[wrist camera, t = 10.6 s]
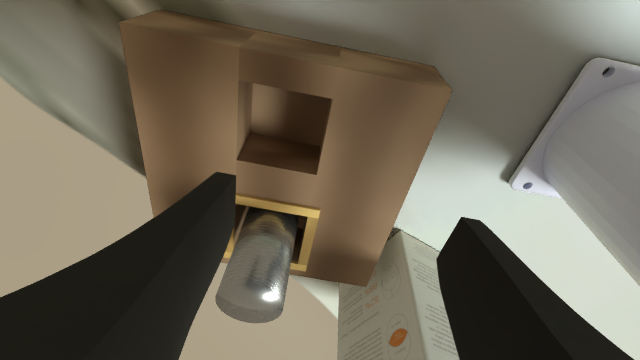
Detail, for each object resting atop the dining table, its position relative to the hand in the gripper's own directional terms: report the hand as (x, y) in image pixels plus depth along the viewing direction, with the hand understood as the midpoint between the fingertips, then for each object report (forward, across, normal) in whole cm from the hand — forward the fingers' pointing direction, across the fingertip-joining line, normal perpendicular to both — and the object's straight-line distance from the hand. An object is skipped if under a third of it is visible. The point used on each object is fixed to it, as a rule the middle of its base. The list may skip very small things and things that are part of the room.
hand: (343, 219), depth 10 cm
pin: (+9, +3, +7) cm, 12 cm away
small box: (+10, -7, +13) cm, 18 cm away
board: (+9, +3, +4) cm, 11 cm away
